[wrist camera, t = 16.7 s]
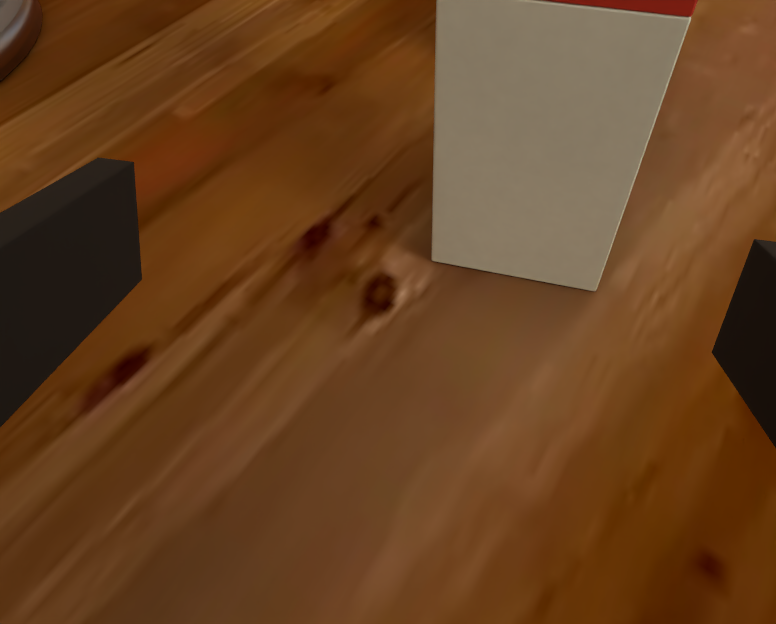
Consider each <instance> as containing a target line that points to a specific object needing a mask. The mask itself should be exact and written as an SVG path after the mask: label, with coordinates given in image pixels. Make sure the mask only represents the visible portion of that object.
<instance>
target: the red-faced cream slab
mask: <svg viewBox="0 0 776 624" xmlns="http://www.w3.org/2000/svg"><path fill="white" fill-rule="evenodd" d="M697 1H698V0H436V45H435V98H434V152H433V205H432V258H431V259H432V261H435V262H441V263H446V264H451V265H457V266H462V267H467V268H472V269H478V270H483V271H488V272H494V273H499V274H504V275H510V276H515V277H520V278H526V279H531V280H536V281H542V282H547V283H552V284H557V285H563V286H568V287H573V288H579V289H584V290H589V291H596V290H597V287H598V284H599V282H600V279H601V276H602V273H603V270H604V267H605V264H606V261H607V259H608V256H609V253H610V250H611V247H612V244H613V241H614V239H615V236H616V233H617V230H618V227H619V224H620V221H621V218H622V216H623V213H624V210H625V207H626V204H627V201H628V198H629V196H630V193H631V190H632V187H633V184H634V181H635V178H636V175H637V173H638V170H639V167H640V164H641V161H642V158H643V155H644V153H645V150H646V147H647V144H648V141H649V138H650V135H651V132H652V130H653V127H654V124H655V121H656V118H657V115H658V112H659V110H660V107H661V104H662V101H663V98H664V95H665V92H666V89H667V87H668V84H669V81H670V78H671V75H672V72H673V69H674V66H675V64H676V61H677V58H678V55H679V52H680V49H681V46H682V44H683V41H684V38H685V35H686V32H687V29H688V26H689V23H690V21H691V16H692V14H693V12H694V9H695V6H696V3H697Z"/></svg>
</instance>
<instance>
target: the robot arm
mask: <svg viewBox="0 0 776 624" xmlns="http://www.w3.org/2000/svg"><path fill="white" fill-rule="evenodd" d="M41 25H42V9H41V6H40V3H39V1H38V0H0V81H1V80H2V79H3V78H4V77H6V76H7V75H8V74H9V73H10V72H11V71H12V70H13V69H14V68H16V67H17V65H18V64H20V62H21V61H22V60H23V59H24V58H25V57H26V55H27V54H28V53H29V51H30V50H31V48H32V47H33V45H34V43H35V42H36V40H37V38H38V35H39V33H40V30H41ZM141 280H142V274H141V259H140V245H139V230H138V216H137V202H136V187H135V173H134V162H129V161H121V160H113V159H105V158H97V159H95V160H93V161H91V162H90V163H88V164H86V165H84V166H83V167H81V168H79V169H77V170H76V171H74V172H72V173H70V174H68V175H67V176H65V177H63V178H61V179H60V180H58V181H56V182H54V183H53V184H51V185H49V186H47V187H46V188H44V189H42V190H40V191H38V192H37V193H35V194H33V195H31V196H30V197H28V198H26V199H24V200H23V201H21V202H19V203H17V204H15V205H14V206H12V207H10V208H8V209H7V210H5V211H3V212H1V213H0V427H1V426H2V425H3V424H4V423H5V422H6V421H7V420H8V419H9V418H10V416H11V415H12V414H13V413H14V412H15V411H16V410H17V409H18V408H19V407H20V406H21V405H22V404H23V403H24V402H25V401H26V400H27V399H28V398H29V397H30V396H31V395H32V394H33V392H34V391H35V390H36V389H37V388H38V387H39V386H40V385H41V384H42V383H43V382H44V381H45V380H46V379H47V378H48V377H49V376H50V375H51V374H52V373H53V372H54V371H55V370H56V368H57V367H58V366H59V365H60V364H61V363H62V362H63V361H64V360H65V359H66V358H67V357H68V356H69V355H70V354H71V353H72V352H73V351H74V350H75V349H76V348H77V347H78V346H79V344H80V343H81V342H82V341H83V340H84V339H85V338H86V337H87V336H88V335H89V334H90V333H91V332H92V331H93V330H94V329H95V328H96V327H97V326H98V325H99V324H100V323H101V322H102V320H103V319H104V318H105V317H106V316H107V315H108V314H109V313H110V312H111V311H112V310H113V309H114V308H115V307H116V306H117V305H118V304H119V303H120V302H121V301H122V300H123V299H124V298H125V296H126V295H127V294H128V293H129V292H130V291H131V290H132V289H133V288H134V287H135V286H136V285H137V284H138V283H139V282H140V281H141ZM712 354H713V355H714V357H715V358H716V360H717V361H718V363H719V364H720V366H721V367H722V369H723V370H724V371H725V373H726V374H727V376H728V377H729V379H730V380H731V382H732V383H733V385H734V386H735V388H736V389H737V391H738V392H739V394H740V395H741V397H742V398H743V400H744V401H745V403H746V404H747V406H748V407H749V409H750V410H751V412H752V413H753V415H754V416H755V418H756V419H757V421H758V422H759V424H760V425H761V427H762V428H763V430H764V431H765V433H766V434H767V436H768V437H769V439H770V440H771V442H772V443H773V445H774V446H775V448H776V242H772V241H764V240H756V239H754V241H753V244H752V246H751V249H750V252H749V254H748V257H747V260H746V262H745V265H744V268H743V270H742V273H741V276H740V278H739V281H738V284H737V286H736V289H735V292H734V294H733V297H732V300H731V302H730V305H729V308H728V310H727V313H726V316H725V318H724V321H723V324H722V326H721V329H720V332H719V334H718V337H717V340H716V342H715V345H714V348H713V350H712Z"/></svg>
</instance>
